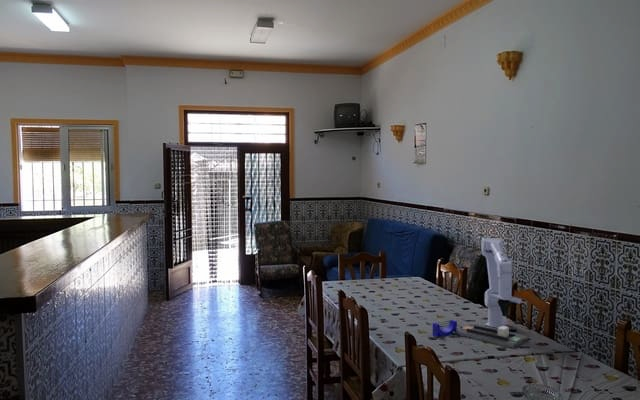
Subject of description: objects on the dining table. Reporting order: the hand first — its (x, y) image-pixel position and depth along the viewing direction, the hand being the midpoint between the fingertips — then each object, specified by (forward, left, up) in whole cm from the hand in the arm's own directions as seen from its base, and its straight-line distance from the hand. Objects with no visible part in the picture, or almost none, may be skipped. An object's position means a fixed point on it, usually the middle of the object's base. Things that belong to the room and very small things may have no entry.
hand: (504, 315), depth 234 cm
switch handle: (+6, +2, -8) cm, 10 cm away
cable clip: (+17, -22, -10) cm, 30 cm away
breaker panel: (+6, -4, -9) cm, 12 cm away
